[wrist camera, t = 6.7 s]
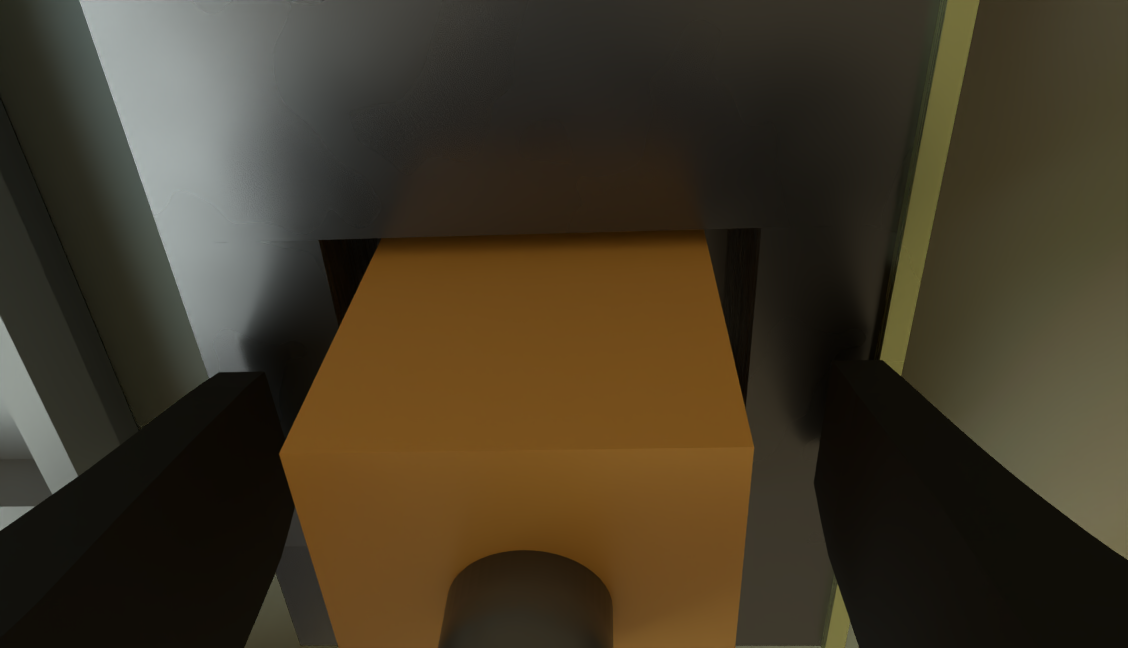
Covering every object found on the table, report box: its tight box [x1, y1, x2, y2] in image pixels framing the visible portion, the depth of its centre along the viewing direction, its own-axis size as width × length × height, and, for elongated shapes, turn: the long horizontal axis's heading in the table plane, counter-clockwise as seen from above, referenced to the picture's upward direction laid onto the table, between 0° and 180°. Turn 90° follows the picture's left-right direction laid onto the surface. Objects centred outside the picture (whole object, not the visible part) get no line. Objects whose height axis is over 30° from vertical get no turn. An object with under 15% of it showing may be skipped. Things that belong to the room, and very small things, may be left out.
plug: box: [279, 229, 754, 648], centre depth 10 cm, size 4×4×7 cm
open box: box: [79, 0, 980, 648], centre depth 10 cm, size 19×9×3 cm, turn 3°
